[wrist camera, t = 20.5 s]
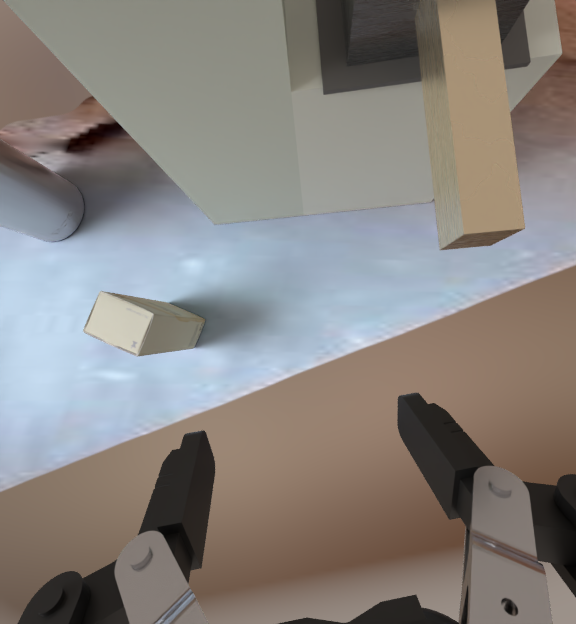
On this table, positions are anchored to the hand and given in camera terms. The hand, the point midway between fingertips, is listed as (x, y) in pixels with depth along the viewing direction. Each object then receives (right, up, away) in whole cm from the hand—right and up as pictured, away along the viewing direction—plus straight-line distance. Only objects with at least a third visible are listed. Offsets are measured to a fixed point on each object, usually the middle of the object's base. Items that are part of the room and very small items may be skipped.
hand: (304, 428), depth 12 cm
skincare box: (-15, +3, +27) cm, 31 cm away
